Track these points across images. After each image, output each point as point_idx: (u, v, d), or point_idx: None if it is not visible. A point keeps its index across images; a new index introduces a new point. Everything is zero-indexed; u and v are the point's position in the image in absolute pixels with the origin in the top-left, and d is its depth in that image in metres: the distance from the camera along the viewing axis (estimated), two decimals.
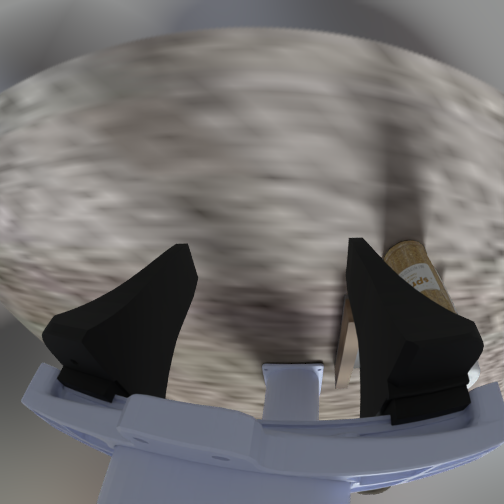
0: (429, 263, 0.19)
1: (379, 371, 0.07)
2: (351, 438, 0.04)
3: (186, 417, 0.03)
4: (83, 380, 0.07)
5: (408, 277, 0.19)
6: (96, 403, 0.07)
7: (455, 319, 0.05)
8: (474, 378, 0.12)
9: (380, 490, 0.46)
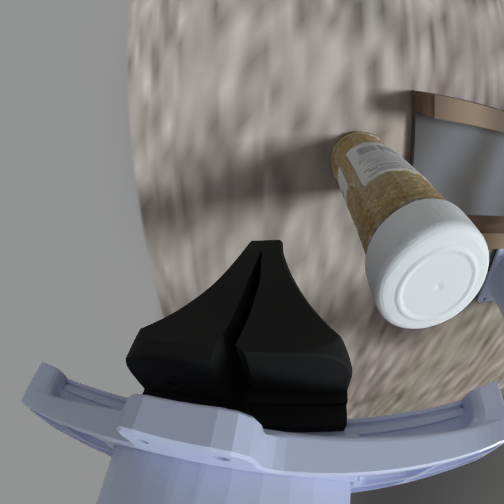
0: (342, 158, 0.16)
1: None
2: (351, 438, 0.04)
3: (186, 417, 0.03)
4: None
5: None
6: None
7: (317, 330, 0.06)
8: (433, 244, 0.07)
9: None
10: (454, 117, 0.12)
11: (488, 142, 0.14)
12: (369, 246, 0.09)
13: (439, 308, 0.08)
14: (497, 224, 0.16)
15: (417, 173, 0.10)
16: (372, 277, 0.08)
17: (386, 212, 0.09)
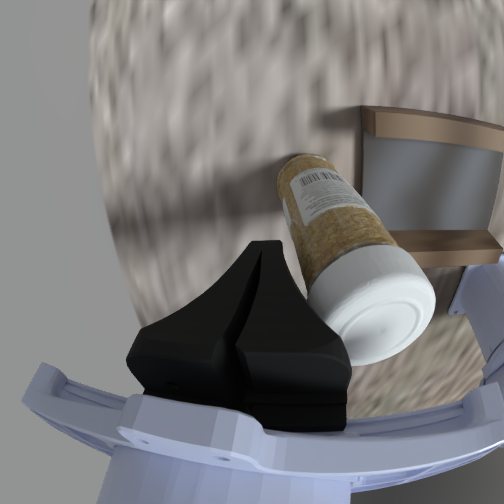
0: (286, 187, 0.16)
1: None
2: (351, 438, 0.04)
3: (186, 417, 0.03)
4: None
5: None
6: None
7: (317, 330, 0.06)
8: (370, 300, 0.07)
9: None
10: (400, 133, 0.13)
11: (451, 154, 0.16)
12: (308, 297, 0.09)
13: (385, 347, 0.09)
14: (462, 239, 0.18)
15: (361, 206, 0.11)
16: None
17: (324, 262, 0.09)
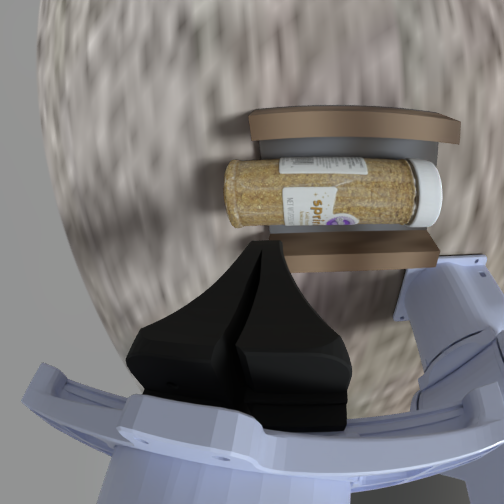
0: (275, 180, 0.15)
1: None
2: (351, 438, 0.04)
3: (186, 417, 0.03)
4: None
5: (300, 219, 0.16)
6: None
7: (317, 330, 0.06)
8: None
9: None
10: (278, 134, 0.15)
11: (365, 148, 0.17)
12: (422, 191, 0.14)
13: None
14: (386, 241, 0.19)
15: None
16: (436, 200, 0.14)
17: (410, 172, 0.14)
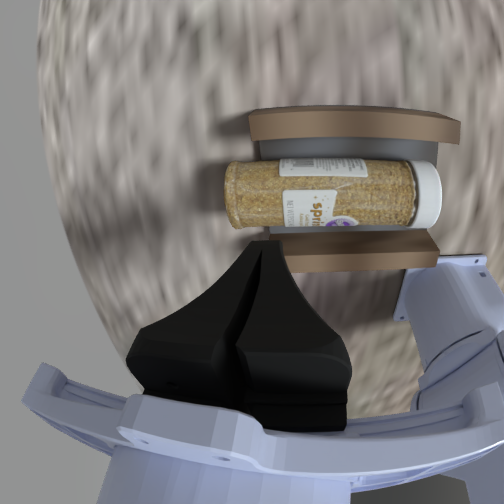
0: (275, 182, 0.16)
1: None
2: (351, 438, 0.04)
3: (186, 417, 0.03)
4: None
5: (300, 221, 0.16)
6: None
7: (317, 330, 0.06)
8: None
9: None
10: (278, 134, 0.15)
11: (365, 148, 0.17)
12: (422, 194, 0.14)
13: None
14: (386, 241, 0.19)
15: None
16: (435, 203, 0.14)
17: (410, 175, 0.14)
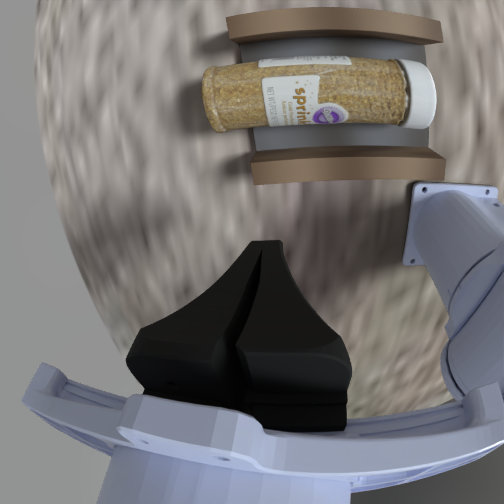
0: (254, 73, 0.13)
1: None
2: (351, 438, 0.04)
3: (186, 417, 0.03)
4: None
5: (284, 111, 0.14)
6: None
7: (318, 330, 0.06)
8: None
9: None
10: (255, 30, 0.12)
11: (349, 56, 0.14)
12: (412, 81, 0.11)
13: None
14: (385, 151, 0.16)
15: None
16: (429, 91, 0.11)
17: (397, 65, 0.11)
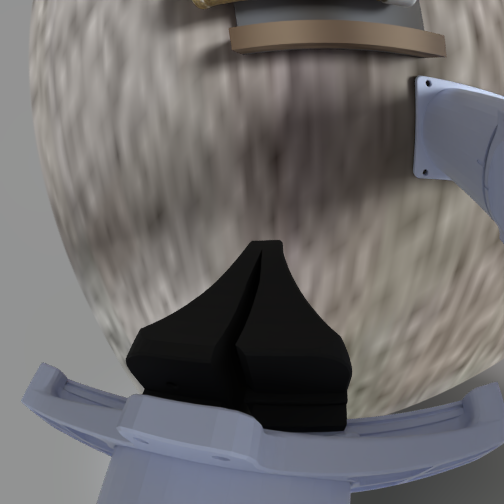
0: None
1: None
2: (351, 438, 0.04)
3: (186, 417, 0.03)
4: None
5: None
6: None
7: (317, 330, 0.06)
8: None
9: None
10: None
11: None
12: None
13: None
14: None
15: None
16: None
17: None
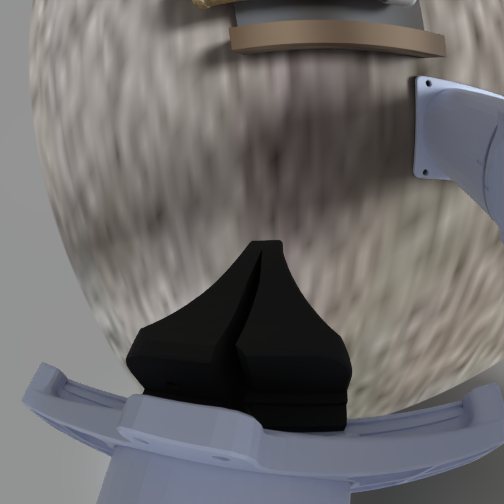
0: None
1: None
2: (351, 438, 0.04)
3: (186, 417, 0.03)
4: None
5: None
6: None
7: (317, 330, 0.06)
8: None
9: None
10: None
11: None
12: None
13: None
14: None
15: None
16: None
17: None
